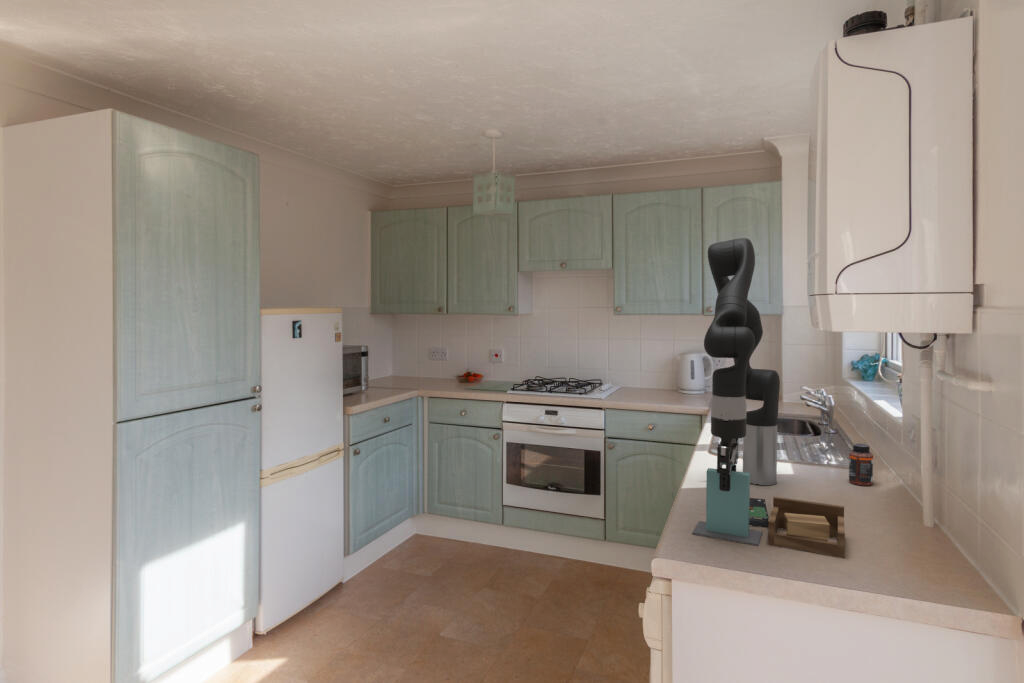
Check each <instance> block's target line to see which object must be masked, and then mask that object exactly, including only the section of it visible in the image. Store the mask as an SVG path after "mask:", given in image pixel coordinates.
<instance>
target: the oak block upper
mask: <svg viewBox="0 0 1024 683" xmlns="http://www.w3.org/2000/svg"><path fill="white" fill-rule="evenodd" d="M784 526H785V529H784V530H785V532H786V531H787V534H788V535H798V536H809V537H819V538H828V539H830V537H829V530H830V524H829V523H828V521H827V520H826V518H825V516H815V515H804V514H792V513H785V514H784Z"/></svg>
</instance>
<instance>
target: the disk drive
mask: <svg viewBox="0 0 1024 683" xmlns="http://www.w3.org/2000/svg"><path fill="white" fill-rule="evenodd" d="M768 522H769V514H768V509H767V502H766V499H765V498H754V497H750V511H749V525H752V526H751V527H757V526H761V527H760V528H765V527H768Z"/></svg>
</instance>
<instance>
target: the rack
mask: <svg viewBox="0 0 1024 683" xmlns="http://www.w3.org/2000/svg"><path fill="white" fill-rule="evenodd" d="M772 501H773V502H772V509H771V511H770V515H769V517H768V521H769V522H768V528H767V533H768V534H767V535H768V536H767V544H768V545H769V546H770V545H771V546H775V547H781V548H787V549H793V550H799V551H804V552H810V553H816V554H821V555H826V556H833V557H838V558H845V543H846V542H845V540H846V539H845V537H846V533H845V532H846V530H845V506H844V505H837V504H830V503H822V502H815V501H807V500H801V499H794V498H789V497H788V498H786V497H779V496H773V497H772ZM785 513H792V514H804V515H815V516H825V518H826V520H827V521H828V523H829V524H830V530H829V538H831V537H832V538H836V539H837V540H836V542H833V541H829V540H828V541H822V540H816V539H810V538H804V537H798V536H792V535H786V533H785V534H784V533H779V529H780V528H783V529H782V530H786V529H785V526H784V514H785ZM777 531H778V532H777Z"/></svg>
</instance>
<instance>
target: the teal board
mask: <svg viewBox="0 0 1024 683" xmlns="http://www.w3.org/2000/svg"><path fill="white" fill-rule="evenodd" d="M750 484H751V483H750V473H746V472H743V471H737V470H736V471H731V475H730V491H721V490H720V489H719V473H717V468H713V467H711V468H710V467H708V468H707V470H706V484H705V485H706V492H705V494H706V496H705V497H706V502H705V505H706V508H705V509H706V511H705V512H706V513H705V516H706V517H705V522H706V530H708V531H714V532H720V533H725V534H731V535H737V536H743V537H748V536H749V529H750V526H749V511H750V498H751V496H750V494H751V485H750Z"/></svg>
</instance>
